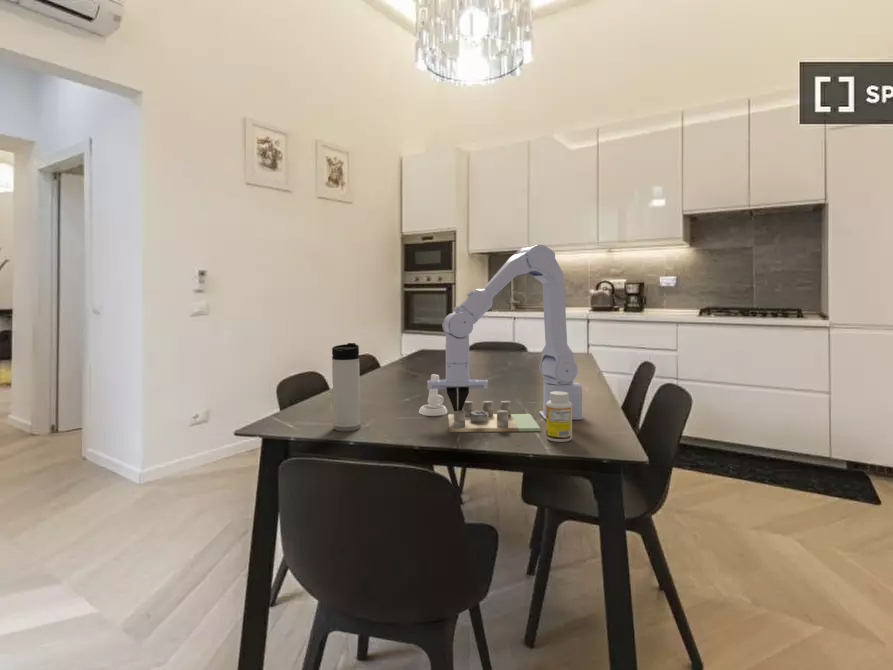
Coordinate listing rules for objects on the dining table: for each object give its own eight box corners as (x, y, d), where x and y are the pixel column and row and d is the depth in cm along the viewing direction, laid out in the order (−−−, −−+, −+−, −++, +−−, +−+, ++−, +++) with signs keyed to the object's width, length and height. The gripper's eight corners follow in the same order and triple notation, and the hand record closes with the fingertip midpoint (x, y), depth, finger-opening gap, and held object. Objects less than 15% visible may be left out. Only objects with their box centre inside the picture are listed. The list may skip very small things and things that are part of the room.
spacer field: (510, 417, 135) (510, 400, 135) (518, 431, 121) (518, 412, 121) (448, 417, 135) (448, 400, 135) (448, 431, 121) (448, 413, 121)
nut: (485, 418, 131) (485, 410, 131) (491, 422, 127) (491, 413, 127) (467, 419, 130) (467, 411, 129) (473, 423, 126) (473, 414, 126)
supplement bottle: (553, 434, 119) (554, 389, 118) (576, 438, 115) (577, 392, 114) (541, 439, 115) (541, 393, 114) (564, 444, 111) (564, 396, 110)
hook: (445, 387, 150) (452, 376, 144) (442, 426, 143) (450, 417, 138) (419, 382, 148) (425, 371, 142) (416, 422, 142) (422, 412, 136)
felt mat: (530, 416, 135) (530, 414, 135) (540, 431, 121) (540, 428, 121) (510, 417, 135) (510, 414, 135) (518, 431, 121) (518, 428, 121)
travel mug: (365, 425, 127) (364, 343, 126) (352, 432, 121) (350, 346, 119) (343, 423, 129) (341, 342, 128) (328, 430, 123) (326, 345, 122)
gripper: (486, 360, 131) (486, 414, 132) (427, 360, 131) (428, 414, 132) (488, 364, 124) (488, 421, 125) (426, 364, 124) (427, 421, 125)
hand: (457, 418), depth 128 cm, fingers closed
